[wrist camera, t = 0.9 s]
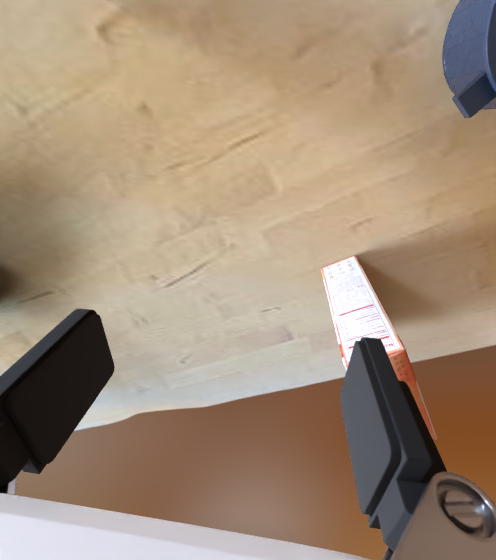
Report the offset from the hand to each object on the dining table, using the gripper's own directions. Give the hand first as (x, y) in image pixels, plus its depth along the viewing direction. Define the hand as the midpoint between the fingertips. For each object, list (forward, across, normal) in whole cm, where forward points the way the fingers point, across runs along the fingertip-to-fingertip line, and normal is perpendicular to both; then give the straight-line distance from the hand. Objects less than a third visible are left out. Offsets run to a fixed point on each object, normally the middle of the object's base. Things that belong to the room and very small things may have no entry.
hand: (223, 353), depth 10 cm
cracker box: (+34, -14, +17) cm, 40 cm away
